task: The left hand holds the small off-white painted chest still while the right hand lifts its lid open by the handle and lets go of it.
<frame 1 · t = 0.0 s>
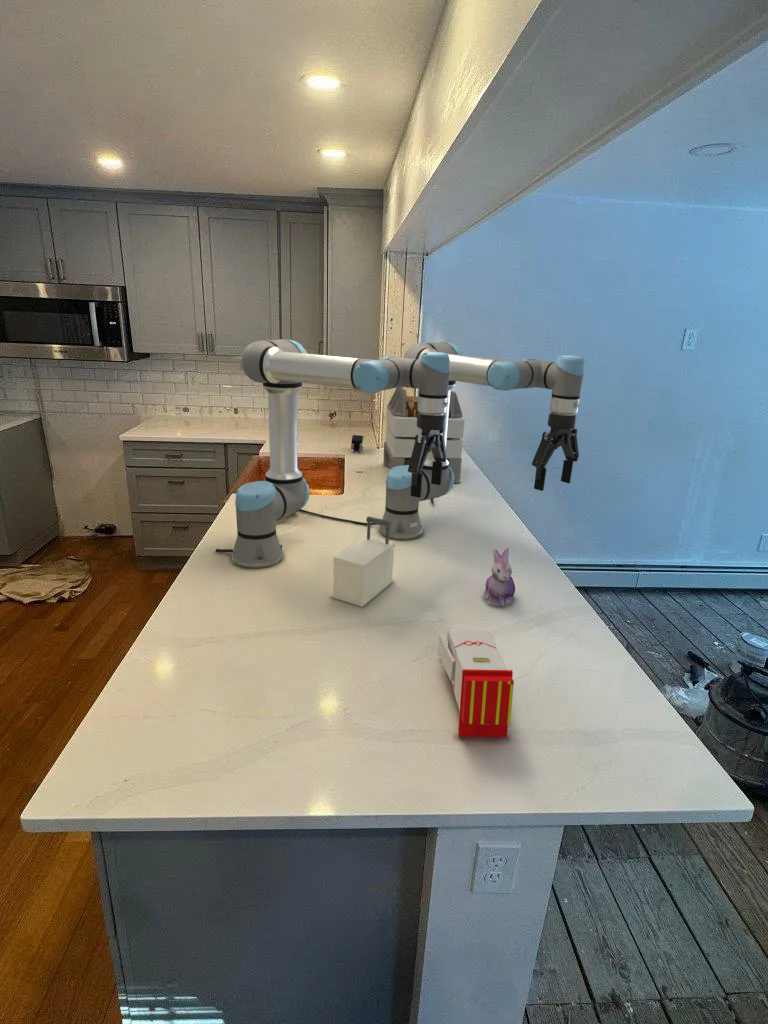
left hand: (426, 490, 156), 28 cm above the counter, tool pointing down, fingers open, 13 cm apart
right hand: (552, 485, 166), 28 cm above the counter, tool pointing down, fingers open, 13 cm apart
lid: (365, 540, 155), point 15 cm above the counter, hinge at 0.0°
feather: (431, 496, 242), on the counter
toy: (469, 691, 119), on the counter
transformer: (419, 473, 275), on the counter
chest: (363, 589, 159), on the counter
figurine character: (357, 450, 312), on the counter
figurine: (499, 599, 157), on the counter
fossil: (285, 514, 213), on the counter
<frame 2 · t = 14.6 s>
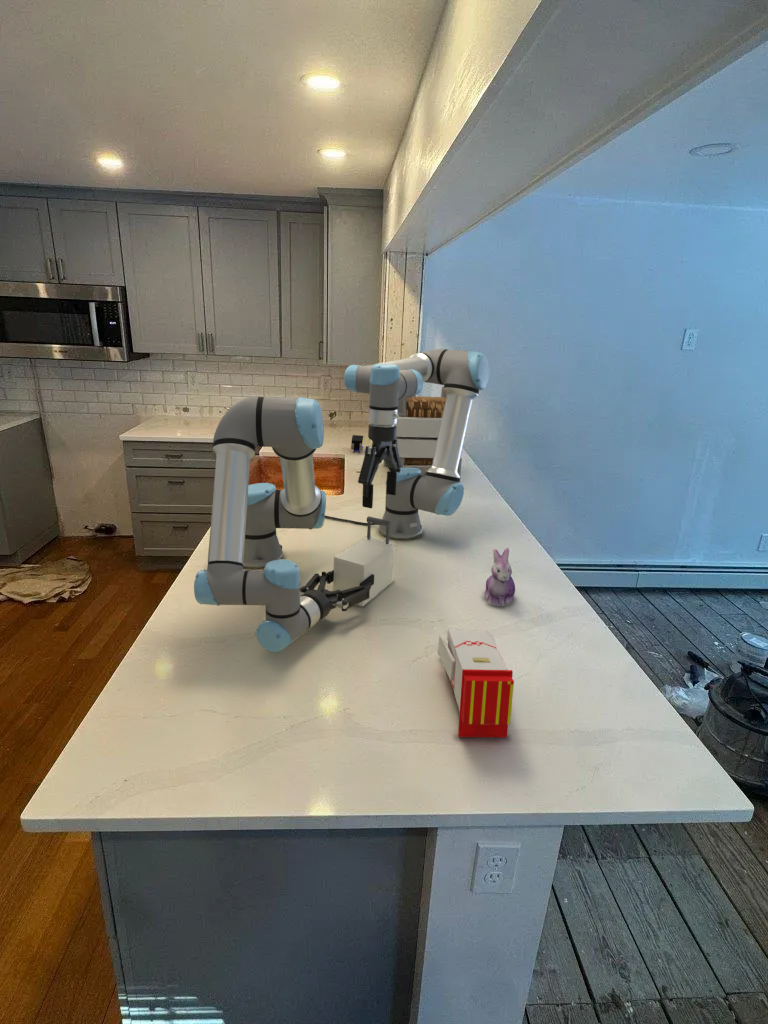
left hand: (356, 574, 154), 6 cm above the counter, tool horizontal, fingers closed on chest, 9 cm apart
right hand: (379, 500, 157), 24 cm above the counter, tool pointing down, fingers open, 13 cm apart
chest: (363, 589, 159), on the counter, touching left hand
everything else where it was.
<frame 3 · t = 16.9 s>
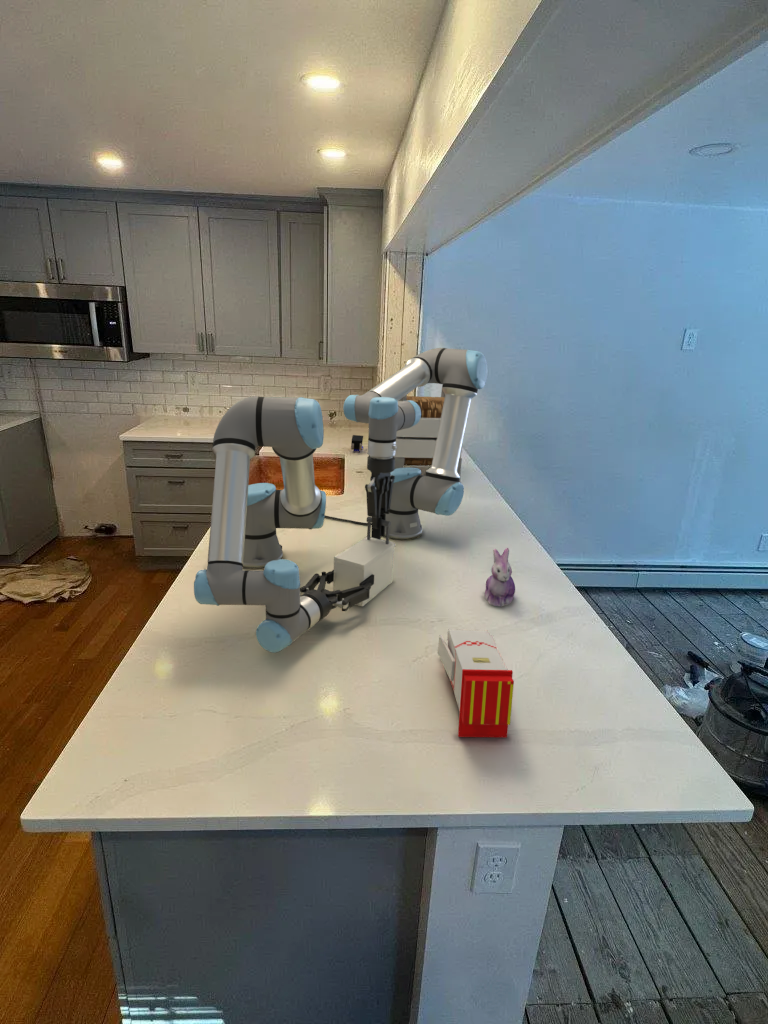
left hand: (356, 574, 154), 6 cm above the counter, tool horizontal, fingers closed on chest, 9 cm apart
right hand: (378, 536, 161), 14 cm above the counter, tool pointing down, fingers closed on lid, 2 cm apart
lid: (366, 540, 155), point 15 cm above the counter, hinge at -0.1°, touching right hand
chest: (363, 589, 159), on the counter, touching left hand
everything else where it was.
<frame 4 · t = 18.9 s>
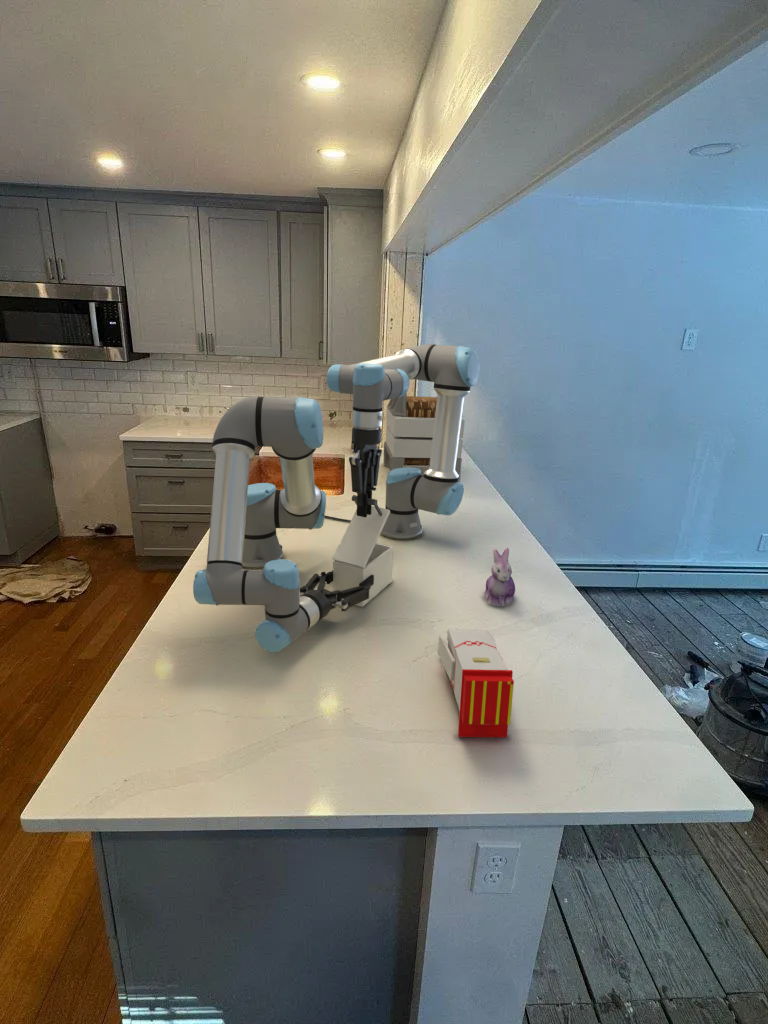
left hand: (356, 574, 154), 6 cm above the counter, tool horizontal, fingers closed on chest, 9 cm apart
right hand: (363, 514, 151), 23 cm above the counter, tool pointing down, fingers closed on lid, 2 cm apart
lid: (357, 528, 149), point 20 cm above the counter, hinge at 39.6°, touching right hand
chest: (363, 589, 159), on the counter, touching left hand
everything else where it was.
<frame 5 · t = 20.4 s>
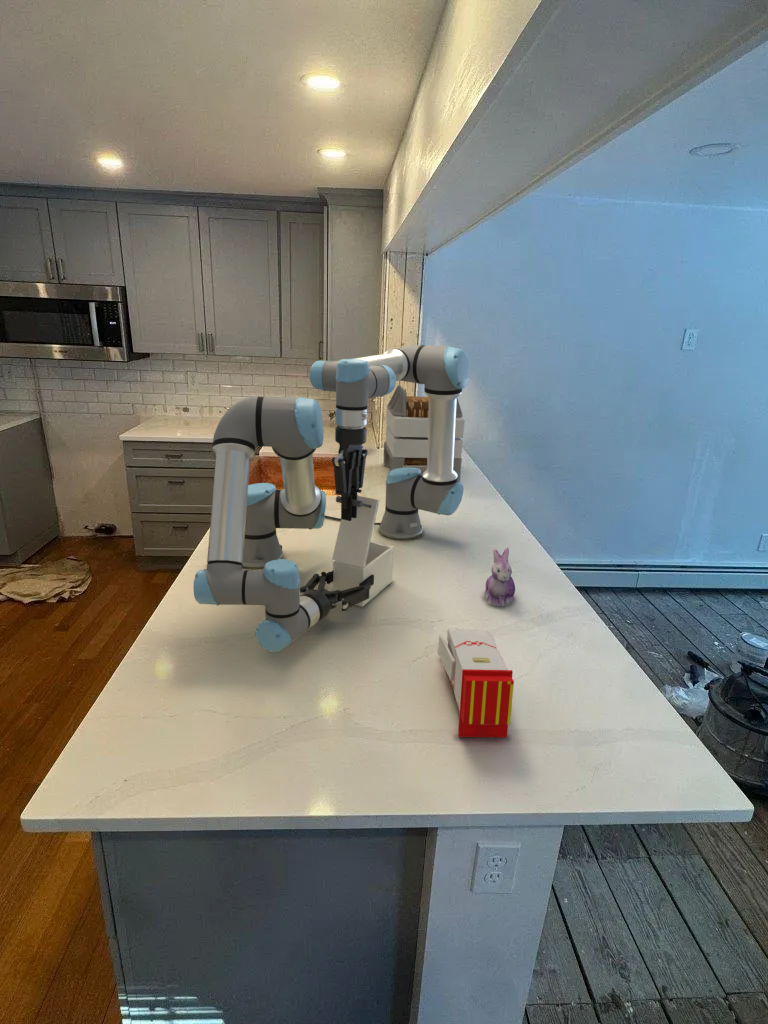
left hand: (356, 574, 154), 6 cm above the counter, tool horizontal, fingers closed on chest, 9 cm apart
right hand: (348, 518, 144), 24 cm above the counter, tool pointing down, fingers closed
lid: (349, 529, 145), point 21 cm above the counter, hinge at 66.4°
chest: (363, 589, 159), on the counter, touching left hand
everything else where it was.
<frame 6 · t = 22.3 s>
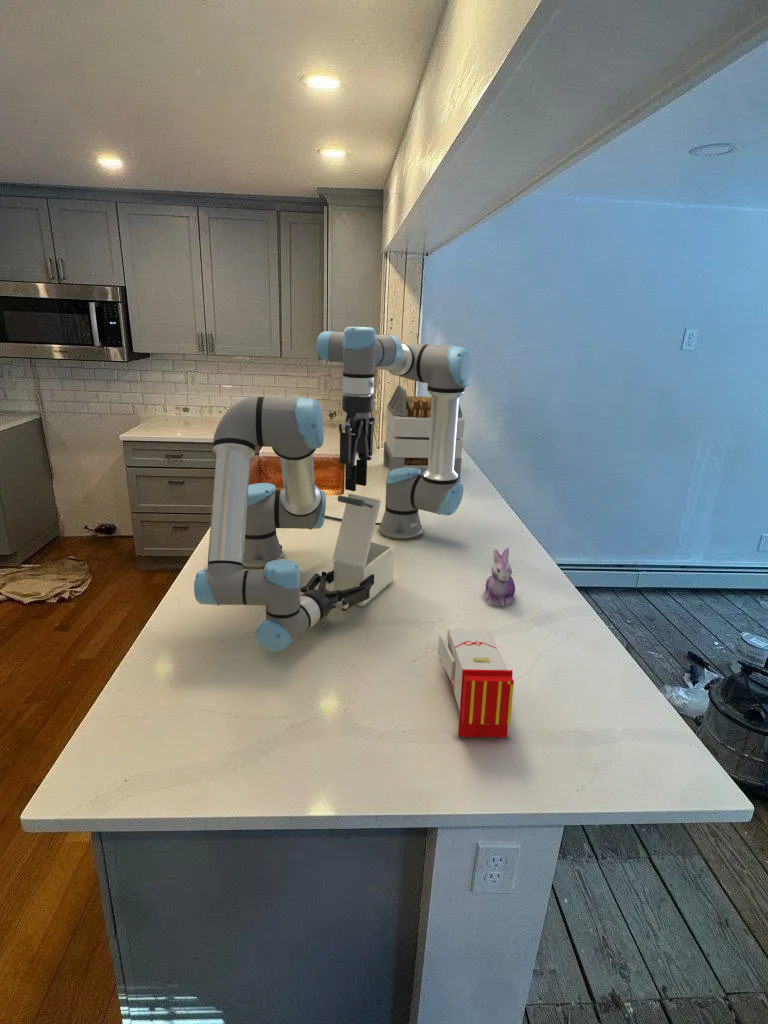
left hand: (356, 574, 154), 6 cm above the counter, tool horizontal, fingers closed on chest, 9 cm apart
right hand: (355, 487, 144), 32 cm above the counter, tool pointing down, fingers open, 5 cm apart
lid: (350, 528, 145), point 21 cm above the counter, hinge at 64.5°
chest: (364, 588, 159), on the counter, touching left hand
everything else where it was.
when the left hand's fingers open (6 cm above the counter, at t = 24.9 s): chest stays where it is, on the counter.
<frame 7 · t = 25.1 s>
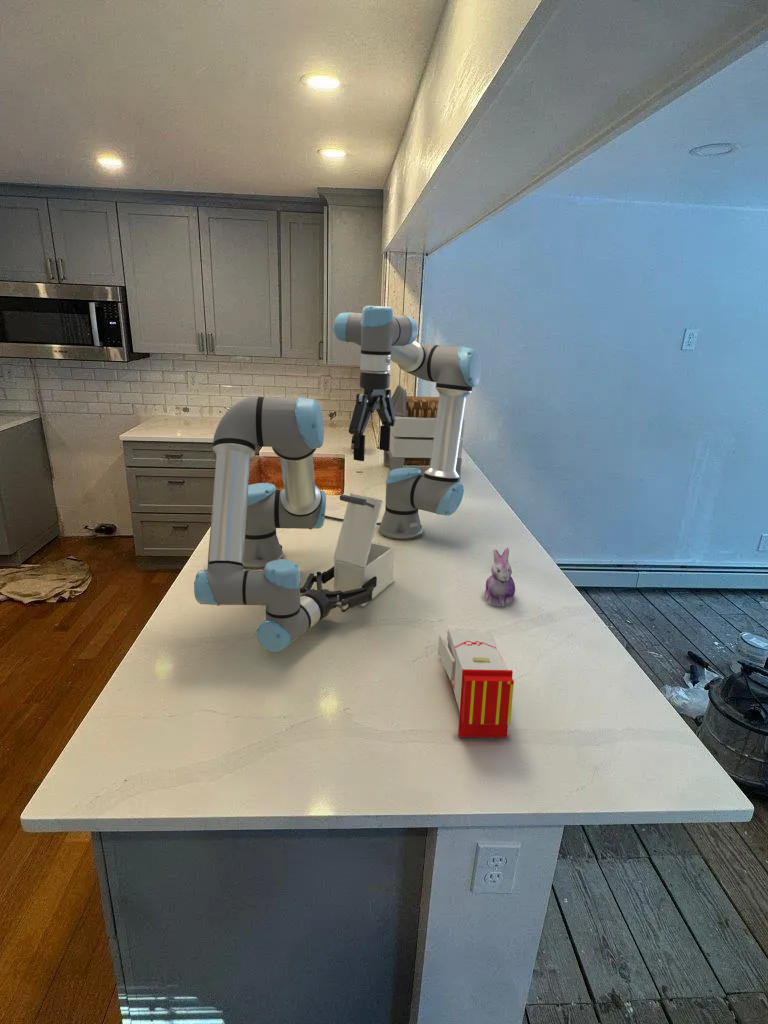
left hand: (355, 575, 153), 6 cm above the counter, tool horizontal, fingers open, 11 cm apart
right hand: (372, 455, 148), 38 cm above the counter, tool pointing down, fingers open, 13 cm apart
lid: (351, 528, 146), point 21 cm above the counter, hinge at 63.4°
chest: (364, 589, 160), on the counter
everything else where it was.
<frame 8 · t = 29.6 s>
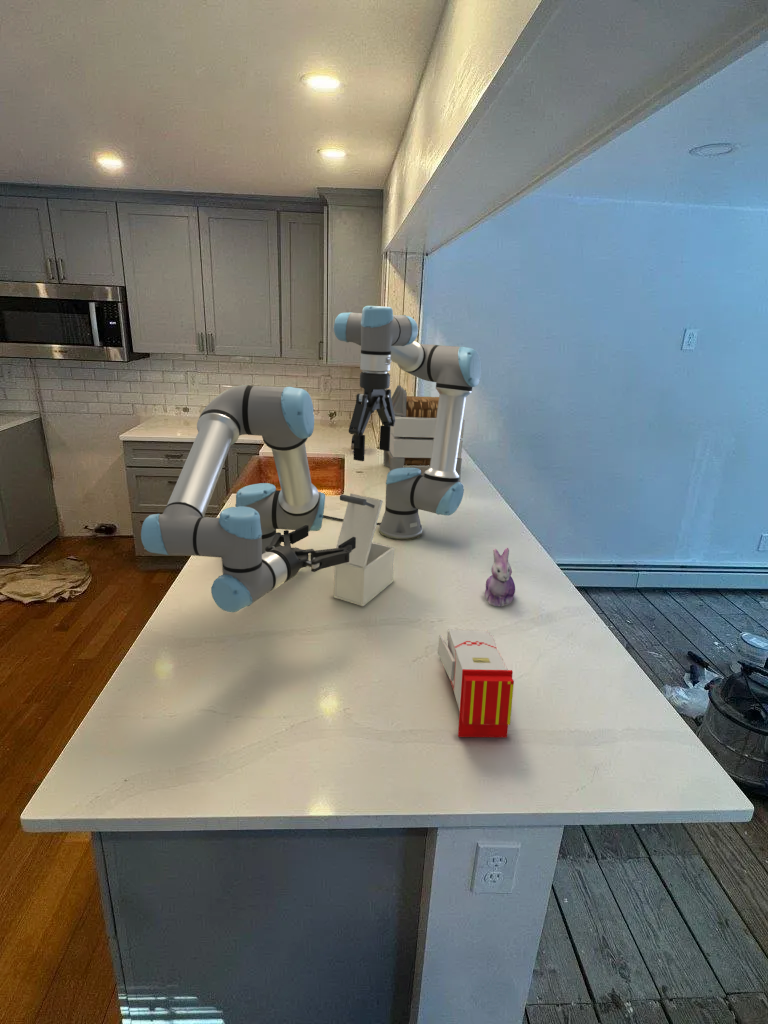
left hand: (330, 536, 137), 22 cm above the counter, tool horizontal, fingers open, 13 cm apart
right hand: (372, 455, 148), 38 cm above the counter, tool pointing down, fingers open, 13 cm apart
nothing on the counter moved.
at the end: lid at +63° (first picture: +0°); the left hand is holding nothing; the right hand is holding nothing; chest tilted 0°; chest never tilted more than 2° during the clip; chest moved 0.2 cm from its start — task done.
